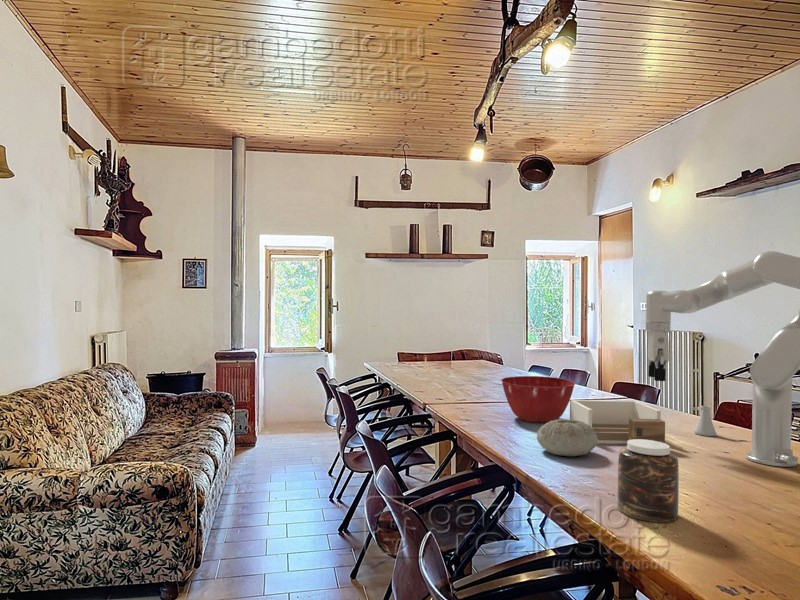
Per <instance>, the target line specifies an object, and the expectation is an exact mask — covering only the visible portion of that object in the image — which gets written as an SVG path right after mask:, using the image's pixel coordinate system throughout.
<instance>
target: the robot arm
mask: <svg viewBox="0 0 800 600" xmlns="http://www.w3.org/2000/svg"><path fill="white" fill-rule="evenodd" d="M774 283H775V284H779V285H782V286H786V287H790V288H794V289H798V290H800V256H796V255H795V256H794V255H790V254H787V253H782V252H779V251H775V250H771V251H770V250H768V251H765V252H762V253H760V254H759V255H758V256H756V257H755V258H754V259H752V260H750V261H747V262H744V263H742V264H740V265H737V266H734V267H732V268H729V269H727V270H724V271H722V272H721V273H719V274H717V276H716V277H715V278H713V279H711V280H710V281H708V282H705V283H703V284H700V285H698V286H696V287H694V288H693V287H692V288H691V289H688V290H686V289H685V290H684V289H683V290H681V289H679V290H671V291H667V290H650V291H648V292H647V293H646V295H645V296H646V297H645V298H646V299H645V332H647V333H648V337H647V338H648V340H647V341H648V342H647V358H648V360H649V361H648V377H650V378H653V380H654V381H656V382H665V381H666V364H667V363H668V362H670V345H669V344H670V342H669V341H670V340H669V334H670V333H671V319H672V317H671V316H672V313H675V314H692V313H696V312H699V311H701V310H704V309H706V308H709V307H713V306H714V305H717V304H719V303H721V302H724V301H728V300H731V299H733V298H737V297H738V296H741V295H745V294H747V293H749V292H753V291H754V290H757V289H760V288H762V287H765V286H768V285H770V284H774ZM799 370H800V308H799V309H798V311H797V313H796V314H795V315H794V316H793V317H792V319H791V320H790V321H789V322H788V323H787V324H786V325H785V326H783V327H782V328H780V329H779V330H778V331H777V332H776V333H775V335H774V336H773V337H772V338H771V339H770V341H769V342H768V343H767V345H765V347H764V348H763V349H762V351H761V352H760V353H759V355H758V356H757V357H756V358H755V360H754V361H752V363H751V365H750V368H749V375H750V378H751V381H753V382H752V383H753V384H752V413H751V414H752V415H751V416H752V417H751V421H752V423H751V424H752V425H751V451H748V452H746V453H745V458H746V459H747V460H749V461H751V462H755V463H757V464H762V465H766V466H772V467H781V468H782V467H785V468H788V467H796V466H798V461H799V458H798V456H794V454H793V453H794V451H793V449H792V408H793V407H792V404H793V402H792V400H793V398H792V397H793V378H794V377H793V376H794V375H795V374H796V373H797V372H799Z"/></svg>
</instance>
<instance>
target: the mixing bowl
mask: <svg viewBox="0 0 800 600" xmlns="http://www.w3.org/2000/svg"><path fill="white" fill-rule="evenodd" d="M500 382H501V384H502V389H503V391H504V395H505V398H506V401H507V403H508V405H509V407H510V409H511V411H512V413H513V415H514V416H516V417H517V418H519V419H520V420H521V421H524V422H527V423H534V424H546V423H548V422H550V421H554V420H558V419H561V417H562V416H563V415H564V413H565V411H566V409H567V407H568V405H569V404H570V400H571V398H572V395H573V391H574V387H575V386H576V381H573V380H570V379H566V378H561V377H554V376H553V377H551V376H540V375H536V376H535V375H523V376H522V375H521V376H517V375H516V376H509V377H507V376H506V377H504V378H501V380H500Z"/></svg>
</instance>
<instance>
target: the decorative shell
mask: <svg viewBox="0 0 800 600" xmlns="http://www.w3.org/2000/svg"><path fill="white" fill-rule="evenodd" d="M536 440H537V443H538V444H539V445H540V447H541V448H542V449H544V450H546V452H548V453H551V454H552V455H556V456H562V457H563V456H565V457H572V458H573V457H579V456H583V455H587V454H588V453H590V452H592V451H593V450H594V449H595V448H596V446H598V444H599V443H598V438H597V435H596V432H595V431H594V430H593V429H592V428H591V427H590V425H587V424H585V423H584V422H581V421H578V420H570V419H563V418H562V419H561V418H558V419H557V420H554V421H550V422H548V423H543V424H541V426H540V427H539V429H537V430H536Z"/></svg>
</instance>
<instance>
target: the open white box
mask: <svg viewBox="0 0 800 600" xmlns="http://www.w3.org/2000/svg"><path fill="white" fill-rule="evenodd" d="M661 414H662V410H660V409H658V408H654V407H652V406H650V405H647V404H644V403H642V402H639V401H638V400H598V399H597V400H594V399H593V400H592V399H590V400H589V399H588V400H585V399H570V401H569V420H578V421H581V422H584V423H585V424H587V425H590V427H591V428H592V429H593V430H594V431H595V432H596V435H597V438H598V444H613V445H615V444H620V445H621V444H622V445H623V444H625V445H627V441H628V440H629V419H660V420H662V419H661V418H662V415H661Z"/></svg>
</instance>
